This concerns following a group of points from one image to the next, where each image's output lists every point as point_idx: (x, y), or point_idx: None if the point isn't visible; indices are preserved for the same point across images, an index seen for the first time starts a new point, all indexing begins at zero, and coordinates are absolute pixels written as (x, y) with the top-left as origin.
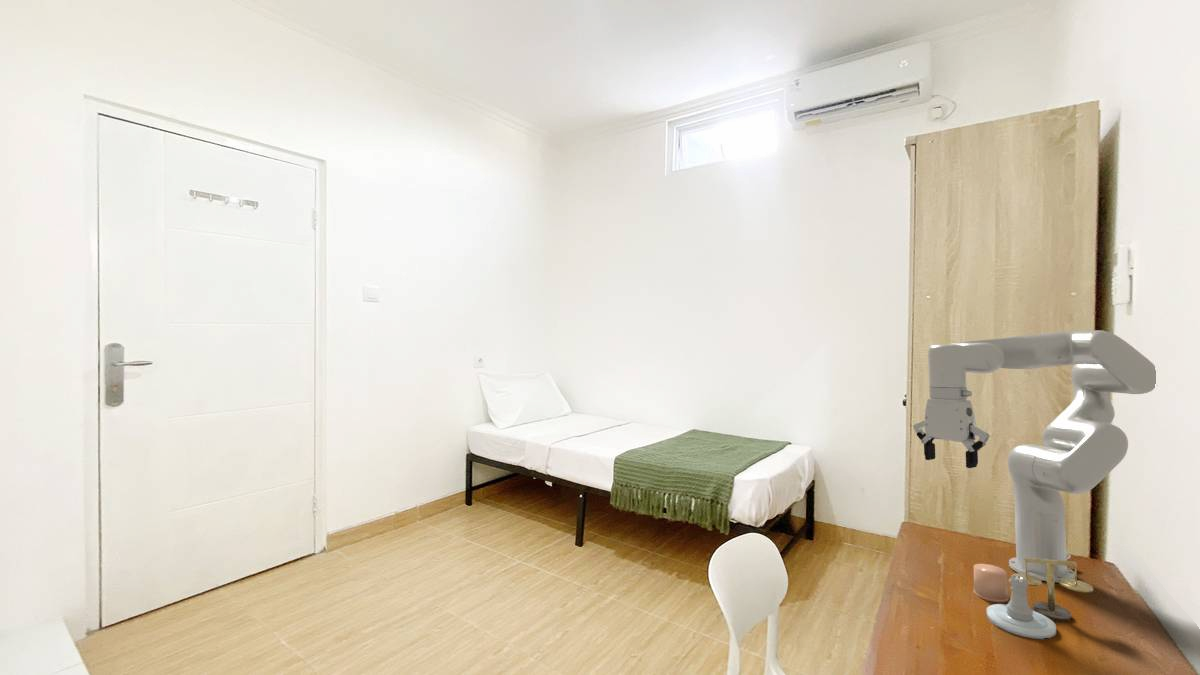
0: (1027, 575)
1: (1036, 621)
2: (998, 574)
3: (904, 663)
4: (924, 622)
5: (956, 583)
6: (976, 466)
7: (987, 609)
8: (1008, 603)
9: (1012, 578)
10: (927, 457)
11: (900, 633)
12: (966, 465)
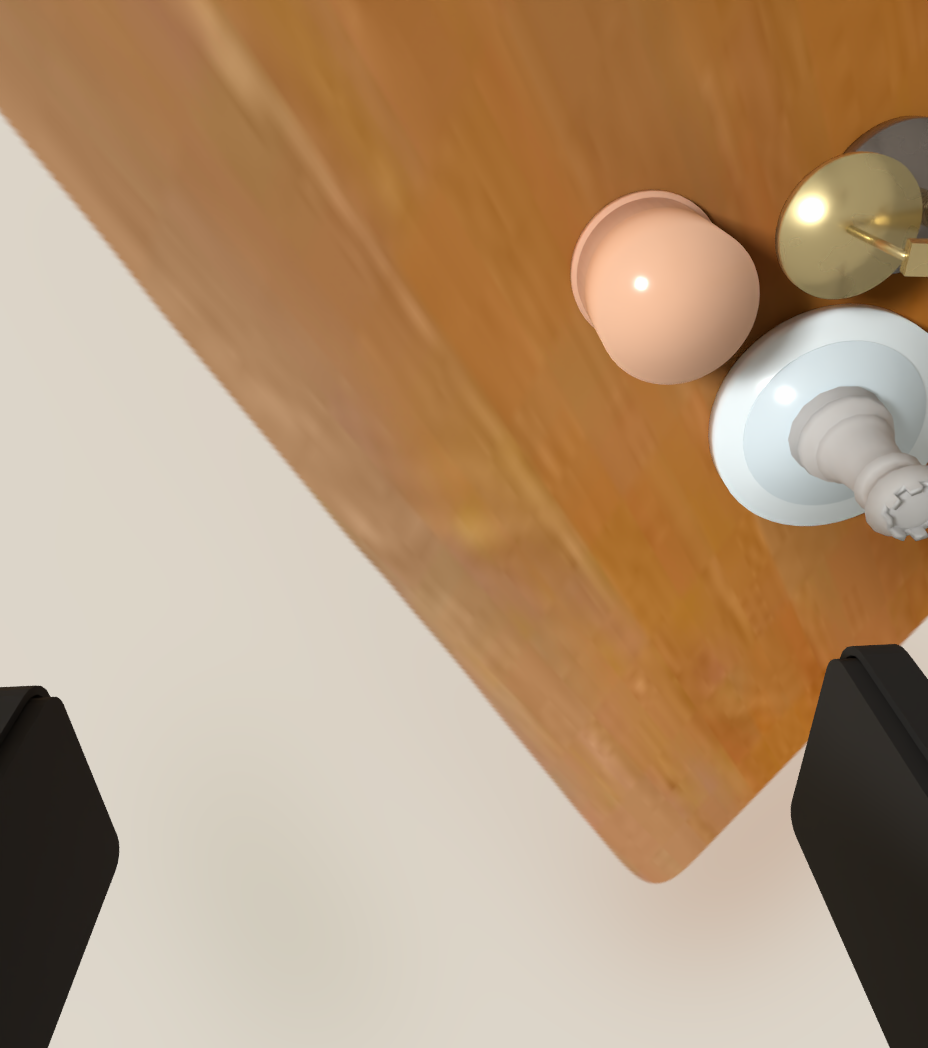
0: (842, 177)
1: (889, 407)
2: (736, 335)
3: (692, 852)
4: (610, 681)
5: (483, 291)
6: (891, 648)
7: (723, 474)
8: (810, 456)
9: (897, 537)
10: (96, 894)
11: (607, 774)
12: (810, 848)
